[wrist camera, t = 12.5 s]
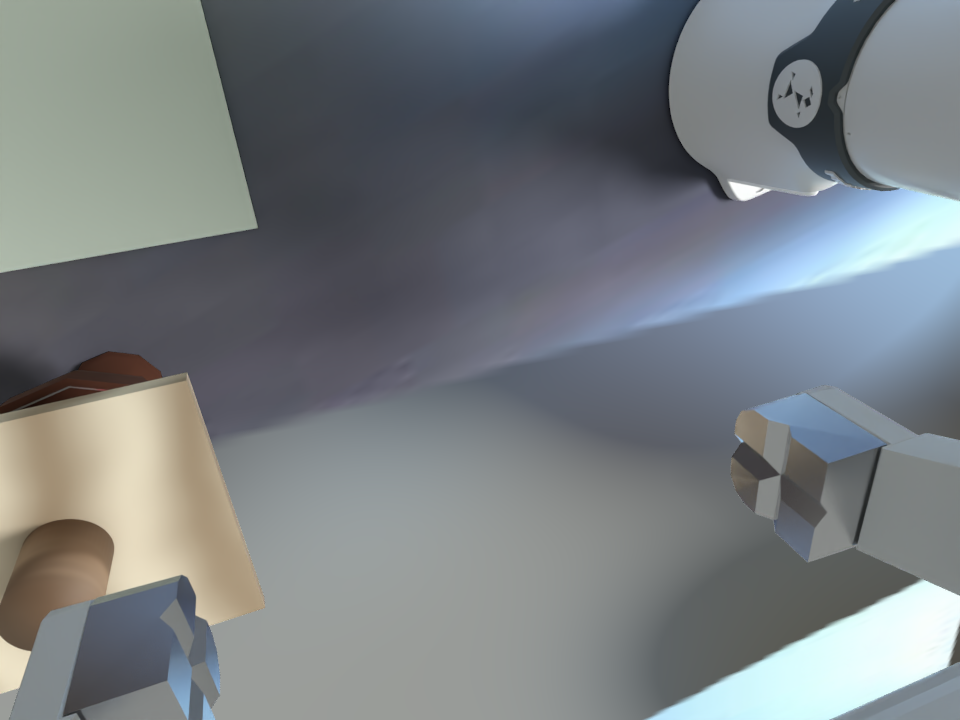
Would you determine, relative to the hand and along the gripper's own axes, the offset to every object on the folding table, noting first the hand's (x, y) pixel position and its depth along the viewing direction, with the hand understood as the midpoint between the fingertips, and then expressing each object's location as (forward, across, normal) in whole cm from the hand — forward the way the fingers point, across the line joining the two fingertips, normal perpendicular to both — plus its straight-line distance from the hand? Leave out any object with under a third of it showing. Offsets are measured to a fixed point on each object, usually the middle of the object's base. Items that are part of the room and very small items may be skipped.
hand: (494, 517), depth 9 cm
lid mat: (+36, +12, -4) cm, 38 cm away
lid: (+21, +14, +14) cm, 29 cm away
